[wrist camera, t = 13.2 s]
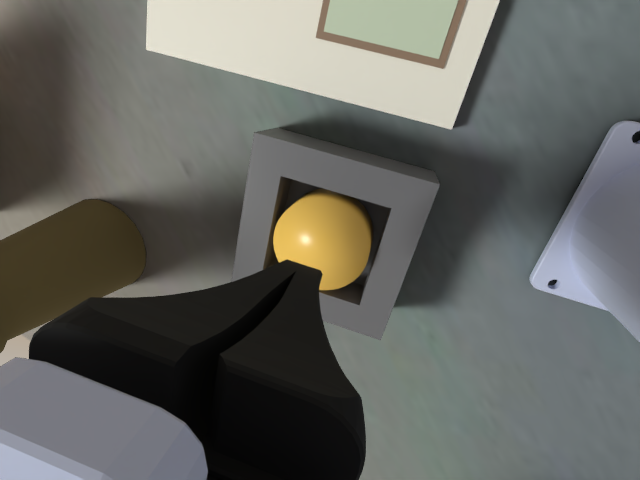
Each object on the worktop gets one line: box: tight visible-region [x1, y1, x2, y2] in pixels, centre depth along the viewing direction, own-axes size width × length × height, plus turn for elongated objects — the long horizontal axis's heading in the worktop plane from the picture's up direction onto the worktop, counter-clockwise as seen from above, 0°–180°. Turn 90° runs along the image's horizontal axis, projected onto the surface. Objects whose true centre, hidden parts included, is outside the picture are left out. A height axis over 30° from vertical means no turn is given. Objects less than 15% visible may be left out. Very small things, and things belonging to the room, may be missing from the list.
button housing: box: [231, 128, 440, 340], centre depth 18 cm, size 8×8×3 cm
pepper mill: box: [0, 199, 146, 353], centre depth 18 cm, size 6×6×11 cm
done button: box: [273, 188, 373, 290], centre depth 17 cm, size 4×4×2 cm
